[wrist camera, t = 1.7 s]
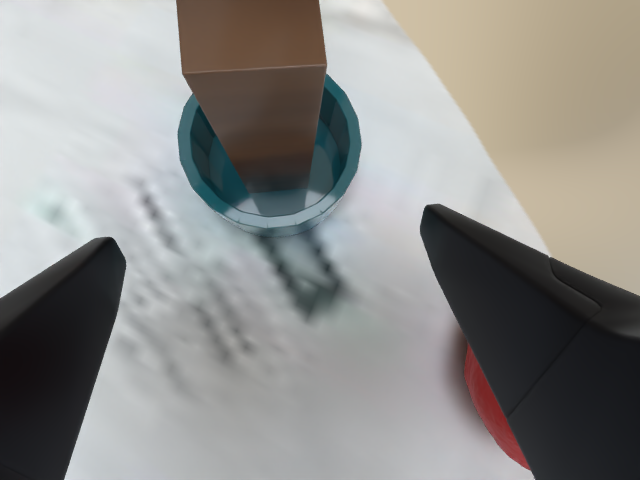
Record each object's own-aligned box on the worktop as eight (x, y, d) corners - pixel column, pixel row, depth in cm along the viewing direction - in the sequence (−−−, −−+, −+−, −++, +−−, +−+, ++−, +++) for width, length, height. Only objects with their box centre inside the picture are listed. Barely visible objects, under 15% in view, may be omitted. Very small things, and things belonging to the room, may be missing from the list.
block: (307, 188, 22) (327, 65, 9) (248, 193, 22) (181, 74, 9) (301, 132, 22) (311, -62, 9) (243, 136, 22) (171, -59, 9)
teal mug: (333, 250, 22) (343, 244, 18) (186, 221, 22) (157, 207, 17) (365, 77, 24) (382, 31, 19) (228, 45, 23) (213, -9, 19)
